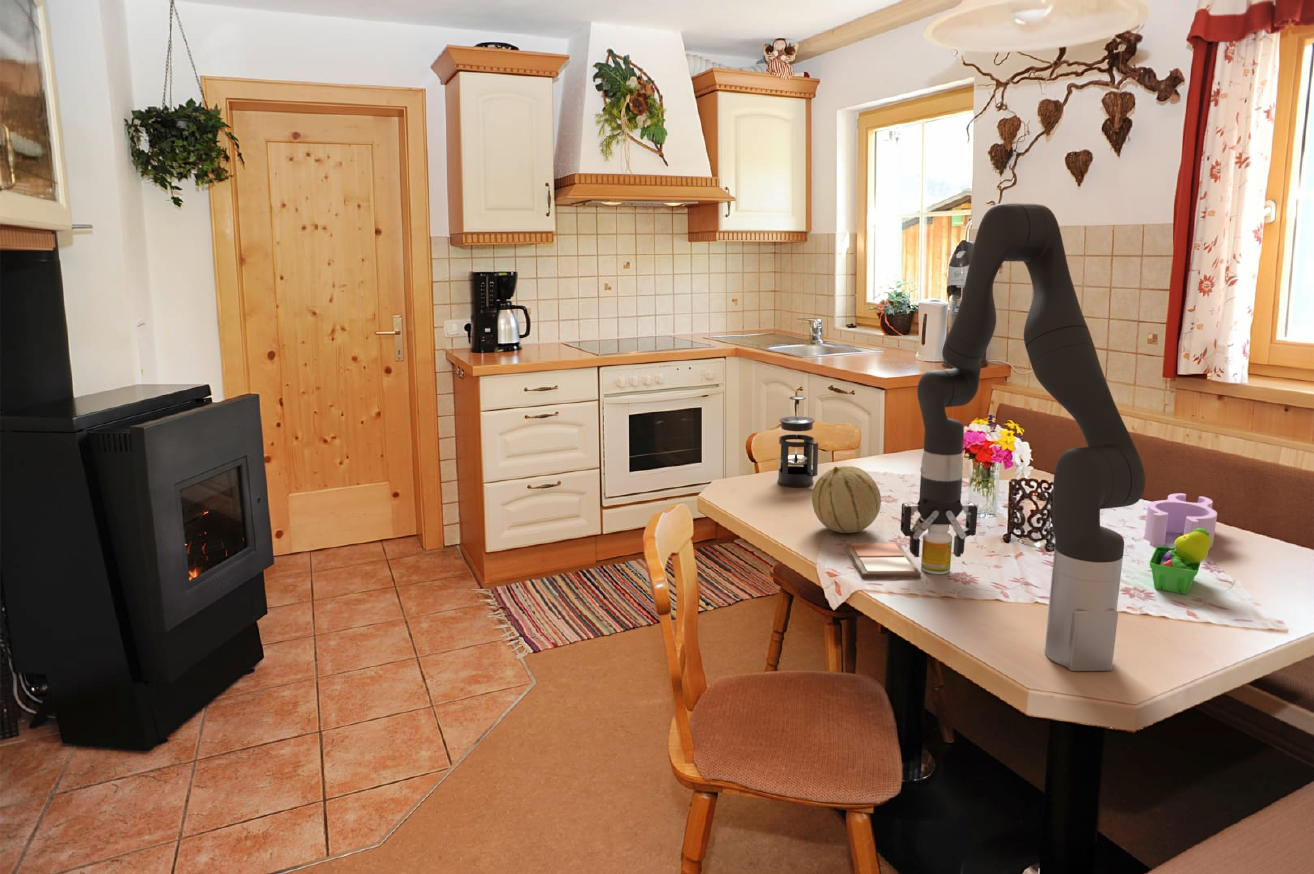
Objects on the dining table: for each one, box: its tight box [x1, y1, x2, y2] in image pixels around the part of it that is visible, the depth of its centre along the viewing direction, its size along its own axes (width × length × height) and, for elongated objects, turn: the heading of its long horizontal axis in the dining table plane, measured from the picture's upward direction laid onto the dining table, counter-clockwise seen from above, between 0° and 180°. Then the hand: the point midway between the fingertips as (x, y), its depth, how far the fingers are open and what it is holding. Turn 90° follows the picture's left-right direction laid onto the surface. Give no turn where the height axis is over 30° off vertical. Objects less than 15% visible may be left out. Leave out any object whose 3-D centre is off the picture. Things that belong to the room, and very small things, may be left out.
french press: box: [777, 395, 819, 489], centre depth 227 cm, size 12×9×23 cm
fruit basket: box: [1149, 528, 1212, 595], centre depth 160 cm, size 11×9×11 cm
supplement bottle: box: [920, 524, 953, 575], centre depth 169 cm, size 5×5×10 cm
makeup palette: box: [845, 542, 922, 579], centre depth 174 cm, size 16×11×1 cm
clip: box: [1144, 492, 1218, 549], centre depth 185 cm, size 20×12×7 cm, turn 140°
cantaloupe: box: [811, 465, 882, 534], centre depth 191 cm, size 15×15×15 cm
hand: (936, 555), depth 169 cm, fingers open, 7 cm apart
